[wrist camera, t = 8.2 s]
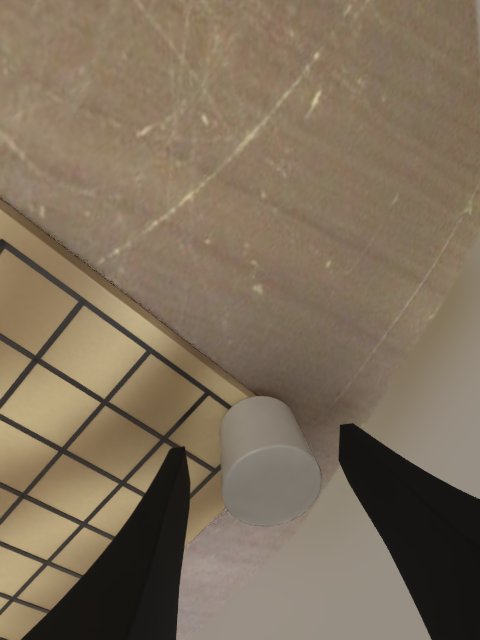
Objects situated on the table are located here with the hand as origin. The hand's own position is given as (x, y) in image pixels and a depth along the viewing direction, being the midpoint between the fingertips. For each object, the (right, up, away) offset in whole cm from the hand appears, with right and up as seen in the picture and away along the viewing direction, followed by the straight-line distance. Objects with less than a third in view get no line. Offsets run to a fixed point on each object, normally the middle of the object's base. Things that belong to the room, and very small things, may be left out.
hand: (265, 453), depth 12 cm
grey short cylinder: (0, 0, +2) cm, 2 cm away
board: (-13, -3, +2) cm, 13 cm away
